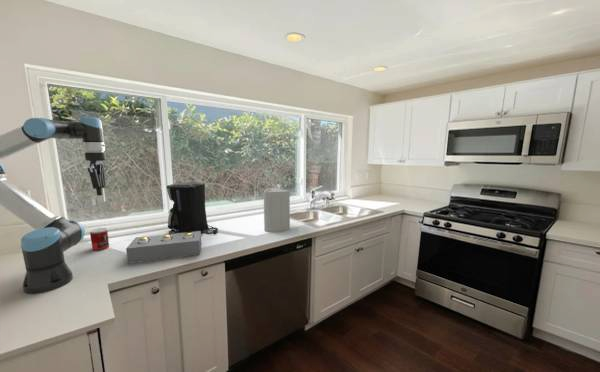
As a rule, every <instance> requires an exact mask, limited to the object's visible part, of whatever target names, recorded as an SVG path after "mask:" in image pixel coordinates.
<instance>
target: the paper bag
mask: <svg viewBox="0 0 600 372" xmlns="http://www.w3.org/2000/svg"><path fill="white" fill-rule="evenodd" d="M290 196H291V195H290V190H289V189H283V188H282V189H281V188H275V187H267V188H265V189H264V191H263V219H264V220H263V223H264V225H263V227H264V229H263V231H264V232H266V233H274V232H275V233H277V232H287V231H289V230H290V229H291V217H290V215H291V214H290V213H291V210H290V209H291V207H290V200H291V197H290Z"/></svg>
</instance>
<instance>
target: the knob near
mask: <svg viewBox="0 0 600 372" xmlns="http://www.w3.org/2000/svg"><path fill="white" fill-rule="evenodd" d="M147 236H148V235H146V236H140V237H141V238H139V243H149V237H147Z"/></svg>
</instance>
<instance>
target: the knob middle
mask: <svg viewBox="0 0 600 372" xmlns="http://www.w3.org/2000/svg"><path fill="white" fill-rule="evenodd" d="M171 234H172V233H167V234H166V235H165V234H162V235H163V236H162V241H168V240H171Z"/></svg>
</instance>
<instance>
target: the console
mask: <svg viewBox="0 0 600 372" xmlns="http://www.w3.org/2000/svg"><path fill="white" fill-rule="evenodd" d="M185 233H186V232H185ZM192 233H193V238H186V239H184V233H175V234H172V233H170V234H171V240H168V241H162V236H163V235H166V234H156V235H146V236H147V237H149V243H139V238H141V237H142V236H138V237H137V236H136V237H135V238H134V239H133V240H132V241H131V242H130V243H129V245H128V246H127V247H126V248H125V249H126V250H125V252H126V259H127V264H131V263H130V262H136V263H140V262H139V261H144V262H148V261H147V260H151V261H155V260H154V259H159V260H163V259H162V258H167V259H172V257H175V258H180V257H179V256H183V257H188V256H187V255H191V256H197V255H196V254H199V255H201V252H202V251H201V250H202V249H201V248H202V234H201V231H195V232H192Z"/></svg>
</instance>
